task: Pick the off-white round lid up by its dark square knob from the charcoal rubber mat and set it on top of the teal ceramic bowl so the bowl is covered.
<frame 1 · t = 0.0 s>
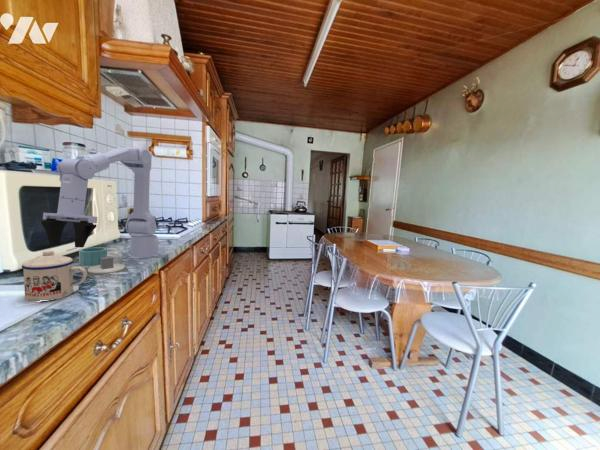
hand: (66, 246, 72), 11 cm above the countertop, tool pointing down, fingers open, 7 cm apart
bowl: (93, 264, 91), on the countertop
mat: (106, 270, 85), on the countertop
teacup with lid: (57, 296, 64), on the countertop
lid: (106, 269, 85), resting on mat
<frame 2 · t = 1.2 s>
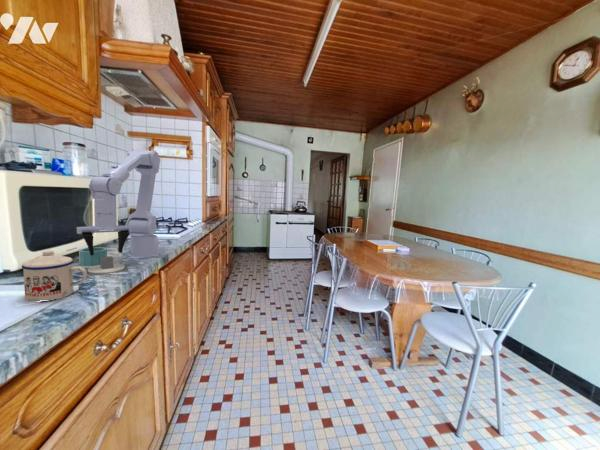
hand: (106, 253, 84), 6 cm above the countertop, tool pointing down, fingers open, 7 cm apart
nothing on the countertop moved.
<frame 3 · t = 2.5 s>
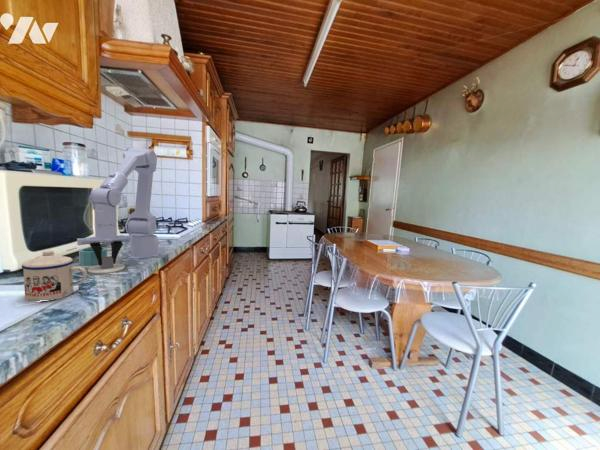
hand: (106, 264, 84), 2 cm above the countertop, tool pointing down, fingers closed on lid, 3 cm apart
lid: (106, 269, 85), resting on mat, touching gripper
everything else where it was.
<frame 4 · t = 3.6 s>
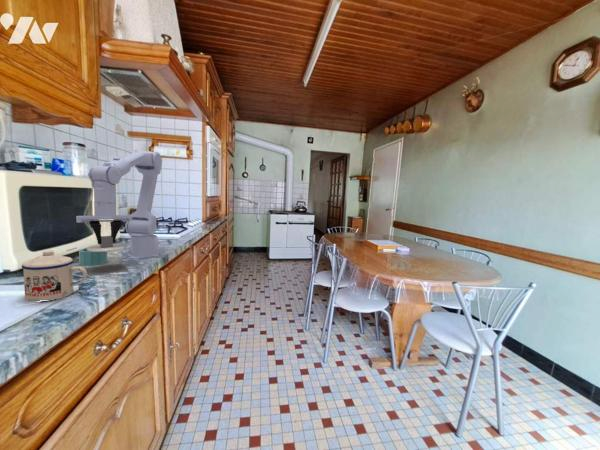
hand: (106, 243, 84), 9 cm above the countertop, tool pointing down, fingers closed on lid, 3 cm apart
lid: (106, 248, 84), point 8 cm above the countertop, touching gripper
everything else where it was.
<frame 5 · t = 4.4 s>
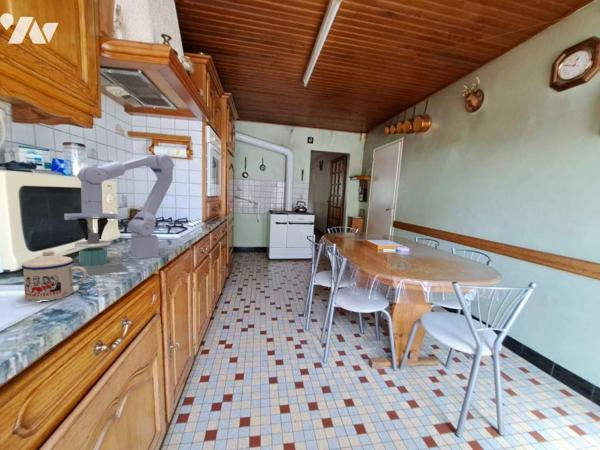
hand: (93, 239, 90), 9 cm above the countertop, tool pointing down, fingers closed on lid, 3 cm apart
lid: (93, 244, 90), point 7 cm above the countertop, touching gripper
everything else where it was.
when the fingers open (8 cm above the countertop, at t = 4.9 s): lid stays where it is, resting on bowl.
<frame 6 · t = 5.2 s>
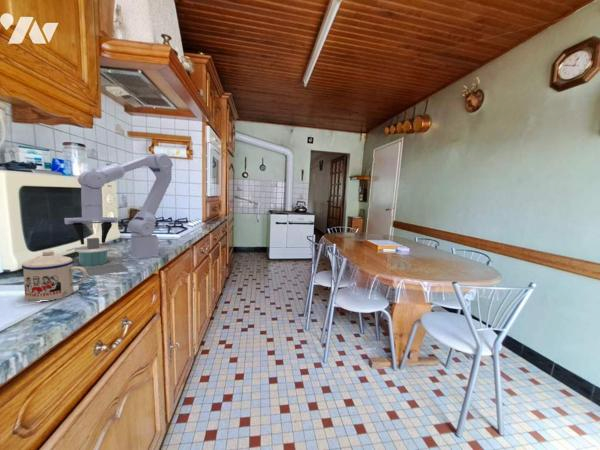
hand: (93, 243, 90), 8 cm above the countertop, tool pointing down, fingers open, 5 cm apart
bowl: (93, 264, 91), on the countertop, touching lid
lid: (93, 249, 90), point 5 cm above the countertop, touching bowl
everything else where it was.
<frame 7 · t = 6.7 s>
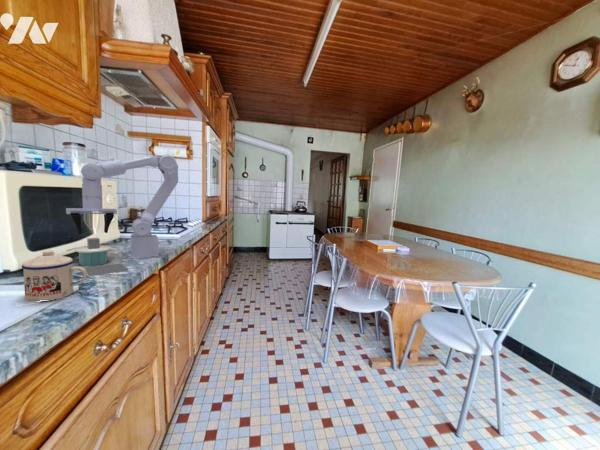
hand: (93, 233, 94), 10 cm above the countertop, tool pointing down, fingers open, 7 cm apart
bowl: (93, 264, 91), on the countertop
lid: (93, 249, 90), point 5 cm above the countertop
everything else where it was.
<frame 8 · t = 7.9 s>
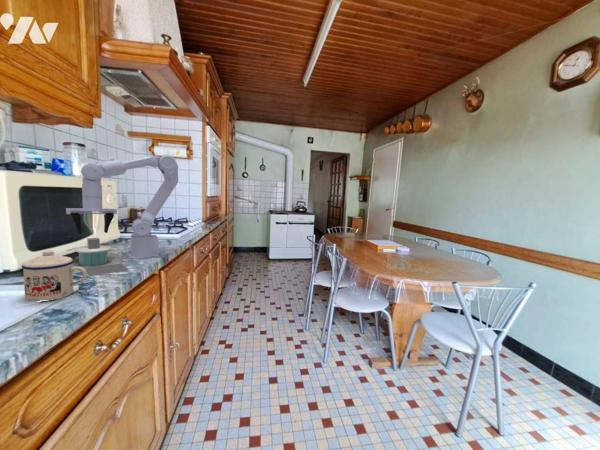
hand: (93, 233, 94), 10 cm above the countertop, tool pointing down, fingers open, 7 cm apart
nothing on the countertop moved.
at the end: lid 0.2 cm from the bowl (horizontally); lid point 5.3 cm above the countertop; lid tilted 0° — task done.
